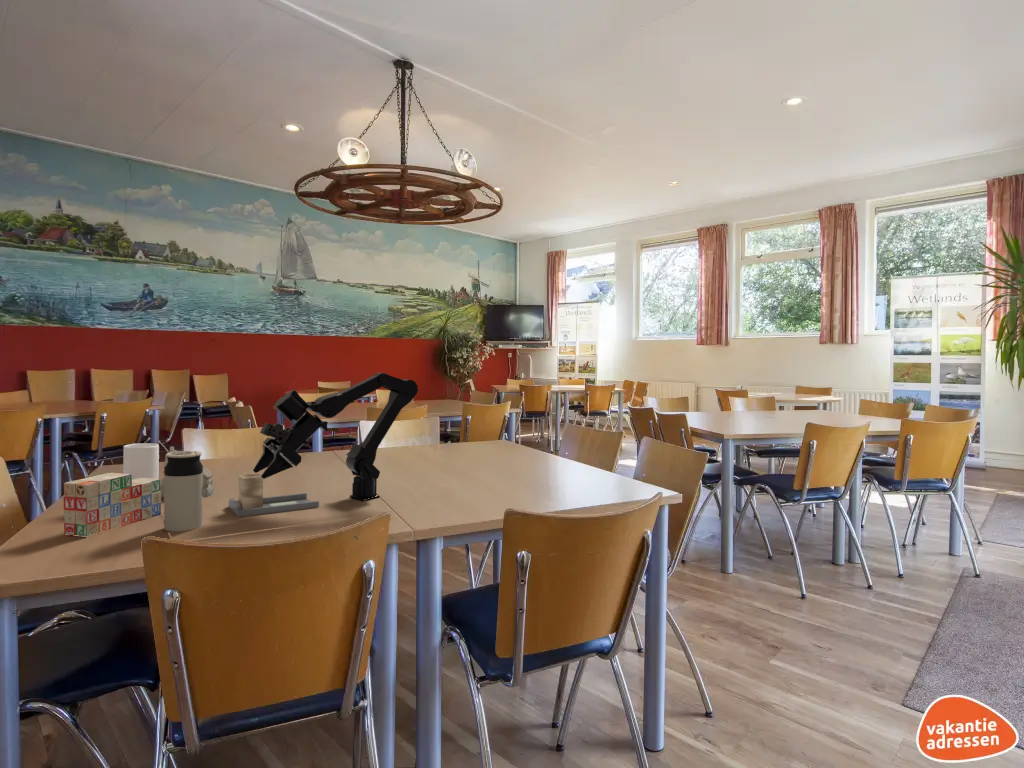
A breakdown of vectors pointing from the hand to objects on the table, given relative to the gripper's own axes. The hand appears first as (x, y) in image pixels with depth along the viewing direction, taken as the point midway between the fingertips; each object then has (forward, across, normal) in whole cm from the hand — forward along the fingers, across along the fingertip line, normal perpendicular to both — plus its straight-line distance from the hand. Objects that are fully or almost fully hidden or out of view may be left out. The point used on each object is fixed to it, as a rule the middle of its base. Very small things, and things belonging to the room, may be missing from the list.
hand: (258, 474), depth 157 cm
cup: (+25, -24, -10) cm, 36 cm away
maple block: (+8, 0, +5) cm, 9 cm away
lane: (+4, 0, +10) cm, 11 cm away
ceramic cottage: (+16, -31, -1) cm, 35 cm away
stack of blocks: (+30, -3, -15) cm, 33 cm away
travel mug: (+20, +8, -6) cm, 23 cm away
